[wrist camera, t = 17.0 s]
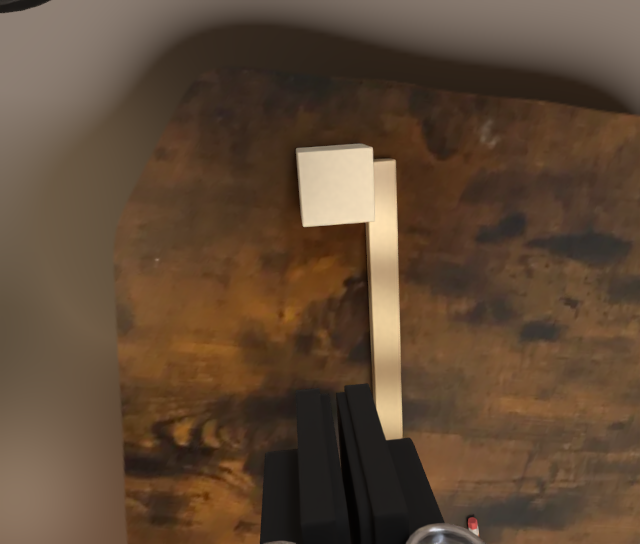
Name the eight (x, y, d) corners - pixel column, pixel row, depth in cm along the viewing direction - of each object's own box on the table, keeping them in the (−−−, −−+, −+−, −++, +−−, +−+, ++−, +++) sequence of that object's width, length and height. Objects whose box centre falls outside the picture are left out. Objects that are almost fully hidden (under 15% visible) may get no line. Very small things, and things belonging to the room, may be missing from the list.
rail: (401, 530, 44) (405, 544, 43) (378, 533, 44) (382, 547, 43) (391, 157, 35) (396, 159, 33) (362, 160, 34) (366, 162, 33)
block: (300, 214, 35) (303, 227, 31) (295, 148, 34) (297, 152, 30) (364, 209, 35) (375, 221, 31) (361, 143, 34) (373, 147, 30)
